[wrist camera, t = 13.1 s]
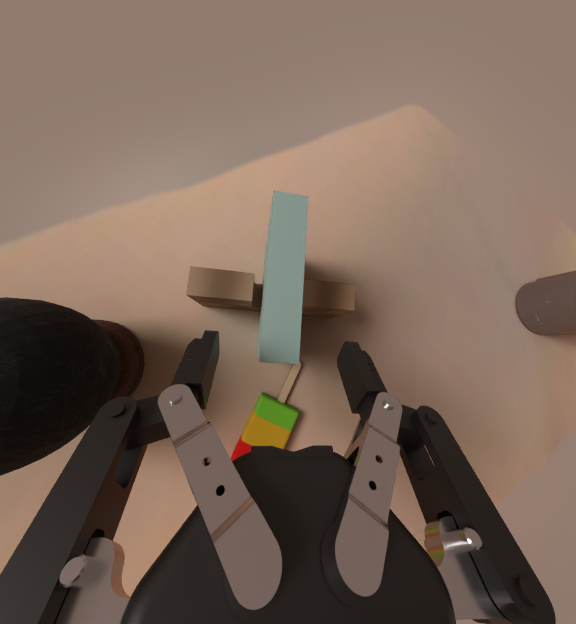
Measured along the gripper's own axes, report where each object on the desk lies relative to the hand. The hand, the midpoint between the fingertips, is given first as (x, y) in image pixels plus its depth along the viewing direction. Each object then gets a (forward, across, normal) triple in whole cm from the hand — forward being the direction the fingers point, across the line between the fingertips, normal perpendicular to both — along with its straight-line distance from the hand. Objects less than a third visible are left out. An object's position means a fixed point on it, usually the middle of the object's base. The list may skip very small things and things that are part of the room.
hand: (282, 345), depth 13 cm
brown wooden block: (+15, 0, +7) cm, 17 cm away
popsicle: (+5, -2, +18) cm, 19 cm away
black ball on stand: (+8, +20, +14) cm, 26 cm away
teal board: (+15, 0, +7) cm, 17 cm away
